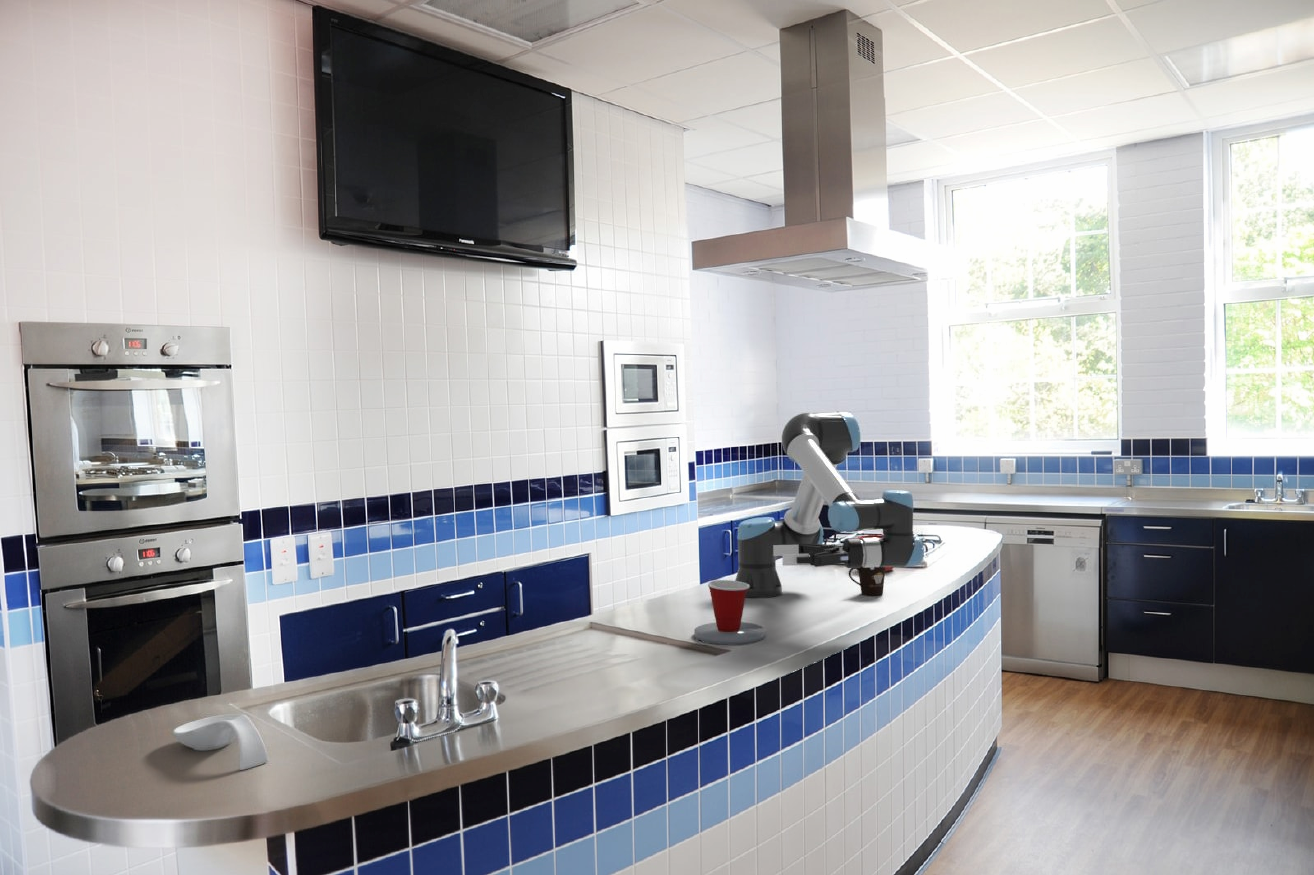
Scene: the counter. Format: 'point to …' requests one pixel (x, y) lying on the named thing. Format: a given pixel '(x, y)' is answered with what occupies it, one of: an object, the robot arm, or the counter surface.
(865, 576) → the coffee mug
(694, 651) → the counter surface
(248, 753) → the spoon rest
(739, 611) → the plastic cup
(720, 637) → the gray round coaster
